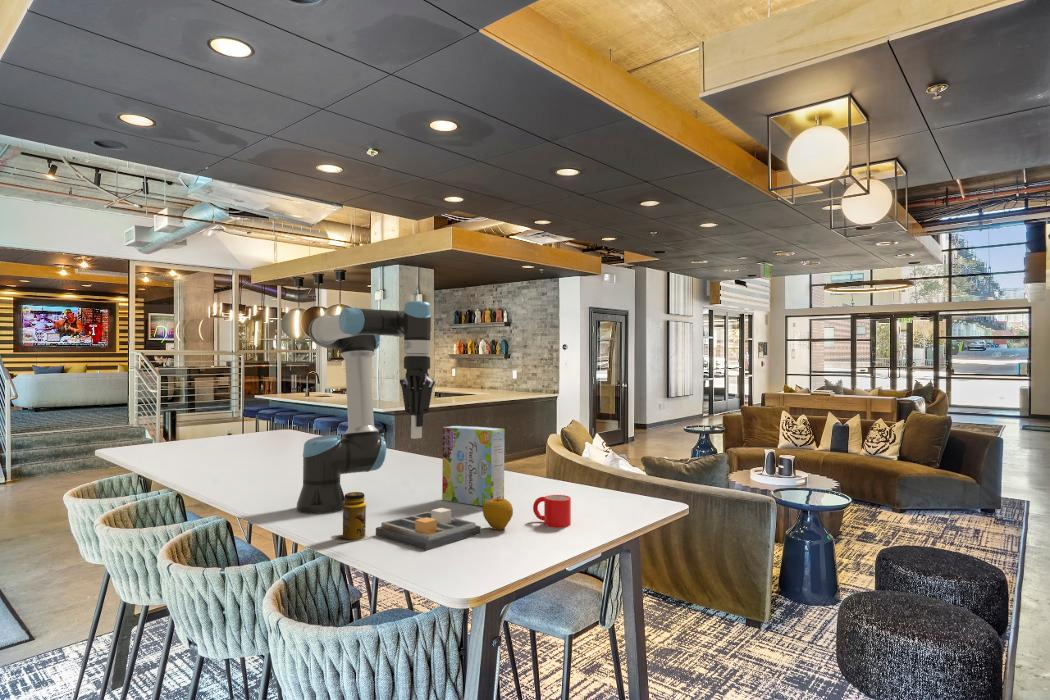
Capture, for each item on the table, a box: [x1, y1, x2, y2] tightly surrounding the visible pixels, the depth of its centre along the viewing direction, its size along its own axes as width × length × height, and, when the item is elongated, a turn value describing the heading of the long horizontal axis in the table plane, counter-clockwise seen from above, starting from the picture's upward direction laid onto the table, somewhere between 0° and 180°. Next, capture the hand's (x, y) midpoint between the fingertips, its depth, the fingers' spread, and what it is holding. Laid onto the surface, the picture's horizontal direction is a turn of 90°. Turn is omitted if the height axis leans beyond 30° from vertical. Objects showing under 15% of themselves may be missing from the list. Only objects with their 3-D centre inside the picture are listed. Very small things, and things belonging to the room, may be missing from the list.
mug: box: [532, 494, 572, 529], centre depth 180 cm, size 8×12×8 cm, turn 65°
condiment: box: [331, 491, 370, 544], centre depth 164 cm, size 7×8×12 cm
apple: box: [482, 498, 514, 531], centre depth 173 cm, size 9×9×9 cm
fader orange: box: [415, 517, 437, 535], centre depth 160 cm, size 4×4×4 cm
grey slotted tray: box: [375, 511, 482, 551], centre depth 167 cm, size 21×20×3 cm
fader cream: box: [430, 507, 452, 524], centre depth 171 cm, size 4×4×4 cm
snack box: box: [441, 425, 506, 507], centre depth 207 cm, size 22×9×26 cm, turn 58°
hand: (416, 437), depth 171 cm, fingers closed
